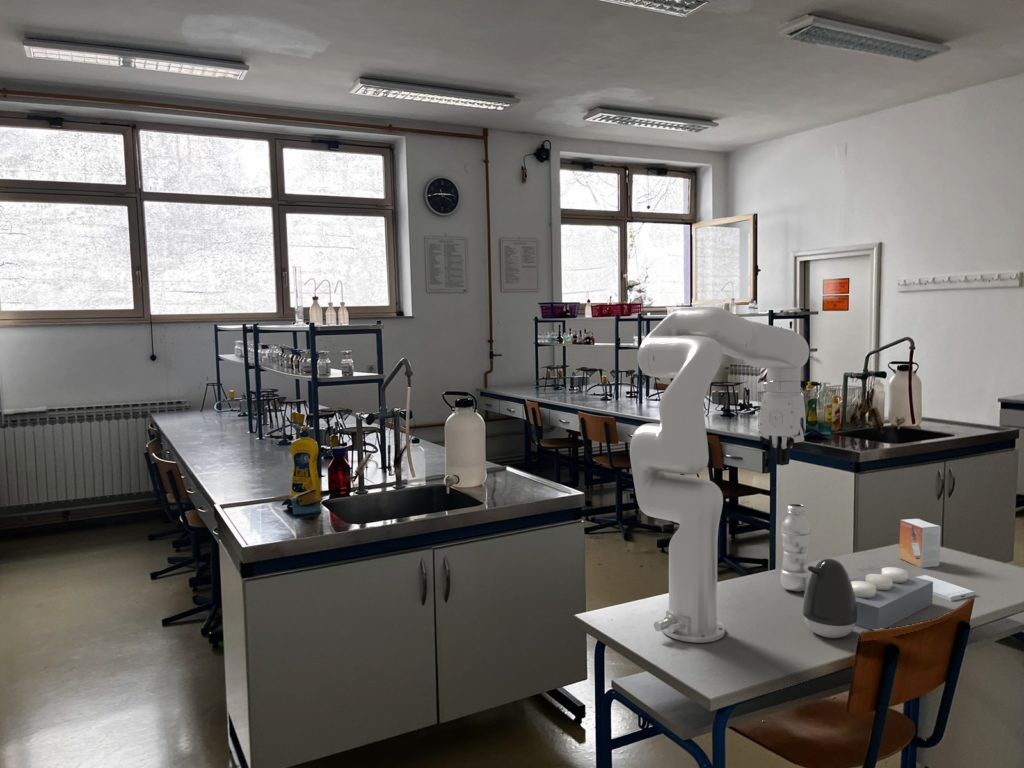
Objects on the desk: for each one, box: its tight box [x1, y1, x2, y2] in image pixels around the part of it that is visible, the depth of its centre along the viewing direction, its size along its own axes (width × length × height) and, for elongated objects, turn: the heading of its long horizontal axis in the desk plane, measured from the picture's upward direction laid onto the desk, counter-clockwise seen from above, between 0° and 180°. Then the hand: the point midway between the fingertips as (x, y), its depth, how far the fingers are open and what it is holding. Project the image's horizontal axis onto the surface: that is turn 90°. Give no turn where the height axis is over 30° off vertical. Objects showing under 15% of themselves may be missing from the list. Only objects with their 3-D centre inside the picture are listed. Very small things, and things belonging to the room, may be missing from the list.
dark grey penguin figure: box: [801, 558, 857, 639], centre depth 151 cm, size 10×10×15 cm
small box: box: [898, 518, 942, 569], centre depth 194 cm, size 8×6×10 cm
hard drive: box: [915, 574, 976, 602], centre depth 175 cm, size 2×8×12 cm
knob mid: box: [866, 574, 892, 592], centre depth 164 cm, size 5×5×6 cm
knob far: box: [881, 566, 909, 584], centre depth 168 cm, size 5×5×6 cm
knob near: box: [851, 581, 876, 599], centre depth 159 cm, size 5×5×6 cm
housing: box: [850, 567, 934, 630], centre depth 164 cm, size 24×12×5 cm, turn 128°
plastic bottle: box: [779, 503, 812, 592], centre depth 175 cm, size 6×7×20 cm
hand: (782, 464), depth 181 cm, fingers closed
